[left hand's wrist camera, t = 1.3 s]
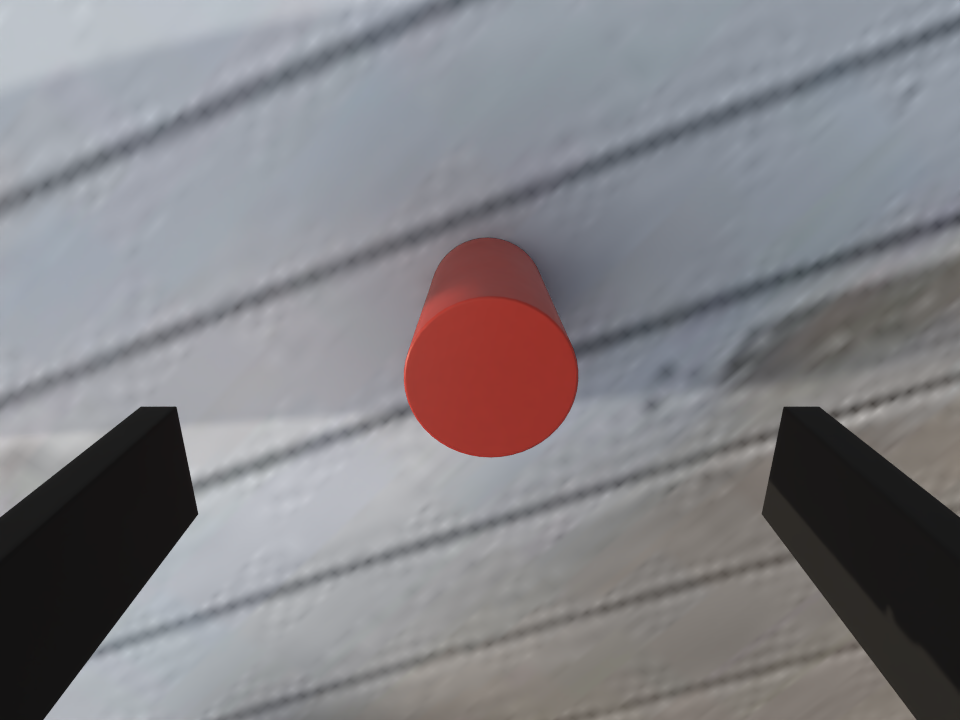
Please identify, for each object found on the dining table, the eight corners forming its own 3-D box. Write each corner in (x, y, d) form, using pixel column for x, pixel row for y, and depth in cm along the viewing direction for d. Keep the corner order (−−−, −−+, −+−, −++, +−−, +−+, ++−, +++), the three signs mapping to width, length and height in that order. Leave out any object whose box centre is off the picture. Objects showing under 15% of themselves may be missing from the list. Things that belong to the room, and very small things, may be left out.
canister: (561, 263, 27) (609, 336, 17) (515, 361, 28) (534, 480, 18) (456, 219, 26) (440, 268, 16) (415, 322, 28) (379, 424, 18)
